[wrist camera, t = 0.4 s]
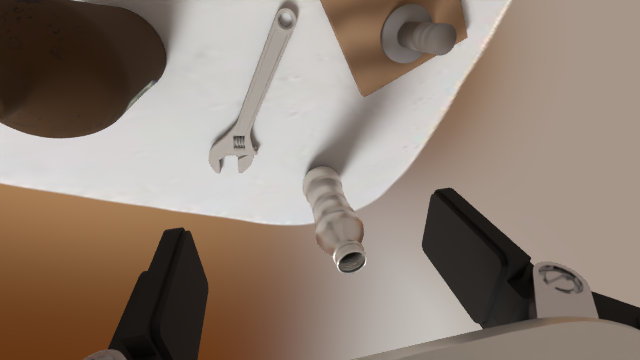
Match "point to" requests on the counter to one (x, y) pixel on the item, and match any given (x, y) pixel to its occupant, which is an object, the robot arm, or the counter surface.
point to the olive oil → (73, 65)
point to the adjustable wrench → (253, 99)
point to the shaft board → (393, 35)
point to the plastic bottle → (335, 220)
